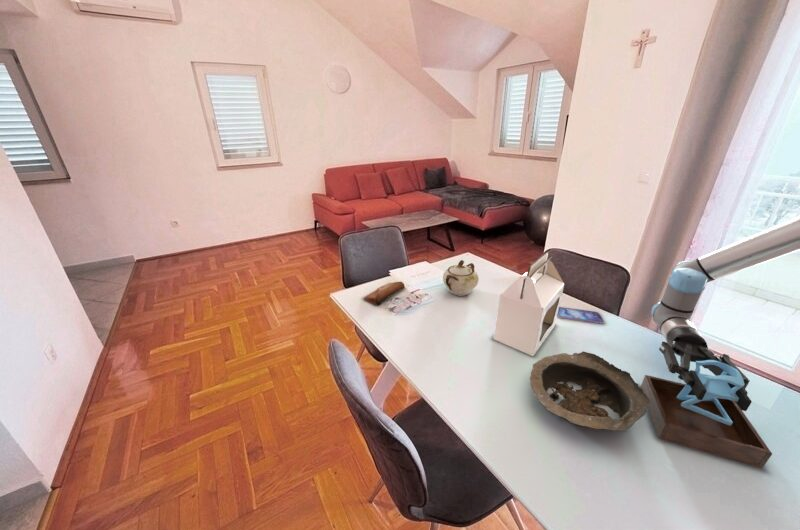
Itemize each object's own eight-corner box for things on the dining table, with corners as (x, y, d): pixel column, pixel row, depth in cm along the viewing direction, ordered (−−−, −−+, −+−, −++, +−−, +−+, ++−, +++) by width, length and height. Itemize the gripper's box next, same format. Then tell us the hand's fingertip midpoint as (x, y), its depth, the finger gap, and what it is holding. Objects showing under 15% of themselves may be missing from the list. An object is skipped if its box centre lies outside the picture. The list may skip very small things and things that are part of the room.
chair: (672, 390, 78) (690, 351, 73) (714, 400, 75) (736, 360, 70) (684, 414, 71) (705, 373, 66) (732, 426, 68) (757, 384, 63)
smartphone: (555, 306, 123) (598, 312, 119) (555, 308, 123) (597, 314, 119) (558, 316, 116) (604, 322, 112) (558, 318, 117) (603, 324, 113)
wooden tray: (722, 409, 79) (731, 394, 77) (761, 470, 65) (772, 454, 63) (639, 388, 85) (645, 374, 83) (658, 439, 71) (665, 424, 69)
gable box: (532, 357, 97) (549, 276, 86) (492, 340, 105) (503, 264, 93) (554, 326, 112) (571, 253, 101) (518, 313, 120) (530, 244, 109)
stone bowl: (656, 416, 76) (668, 389, 72) (600, 477, 65) (610, 449, 61) (562, 358, 96) (567, 334, 91) (506, 397, 84) (509, 371, 80)
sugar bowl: (460, 306, 125) (463, 272, 119) (431, 293, 135) (432, 261, 129) (486, 289, 138) (490, 258, 132) (458, 279, 147) (460, 249, 141)
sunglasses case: (390, 283, 142) (395, 273, 138) (400, 294, 140) (406, 284, 136) (362, 298, 129) (367, 289, 125) (373, 311, 127) (379, 301, 123)
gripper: (723, 358, 83) (777, 428, 64) (636, 340, 90) (661, 399, 71) (735, 335, 80) (796, 401, 61) (644, 318, 87) (673, 373, 68)
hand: (723, 400), depth 66 cm, fingers closed on chair, 6 cm apart
